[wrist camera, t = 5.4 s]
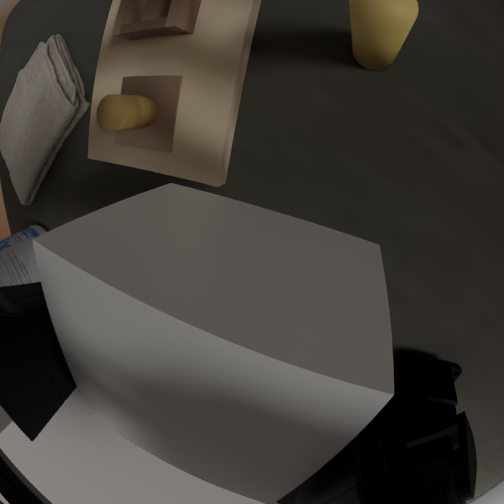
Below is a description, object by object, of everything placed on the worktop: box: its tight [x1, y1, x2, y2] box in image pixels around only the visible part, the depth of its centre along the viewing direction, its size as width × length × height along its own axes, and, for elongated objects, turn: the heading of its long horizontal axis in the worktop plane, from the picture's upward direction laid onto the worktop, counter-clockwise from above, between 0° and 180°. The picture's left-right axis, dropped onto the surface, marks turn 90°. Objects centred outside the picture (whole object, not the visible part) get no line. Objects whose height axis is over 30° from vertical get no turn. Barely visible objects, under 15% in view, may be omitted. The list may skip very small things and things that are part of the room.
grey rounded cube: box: [32, 183, 394, 504], centre depth 7 cm, size 6×6×5 cm
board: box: [88, 0, 261, 187], centre depth 13 cm, size 16×12×5 cm
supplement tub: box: [0, 225, 47, 287], centre depth 23 cm, size 10×10×15 cm
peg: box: [349, 0, 418, 71], centre depth 9 cm, size 2×2×7 cm
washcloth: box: [0, 34, 90, 206], centre depth 21 cm, size 12×18×3 cm, turn 125°
